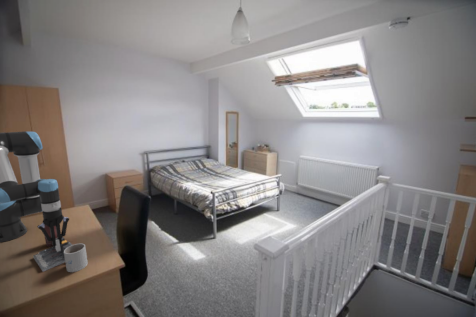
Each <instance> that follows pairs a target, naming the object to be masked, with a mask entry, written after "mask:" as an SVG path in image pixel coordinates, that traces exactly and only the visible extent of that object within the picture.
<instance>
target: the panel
mask: <svg viewBox="0 0 476 317" xmlns="http://www.w3.org/2000/svg"><path fill="white" fill-rule="evenodd" d="M68 242H69V244H70V245H73V244H72V242H70V241H68ZM32 257H33V259H34V261H35V262H36V264H37V266H38V267H39V269H40V270H41V272H42V273H44V272H45V271H46V272H47V271H48V270H51V269H53V268H55V267H56V266H60V265H62V264H64V263H65V257H64V253H63V252H62V251H59V252H57V251H56V247H55V246H52V247H48V248H46V249H44V250H41V251H39V252H38V253H36V254H34V255H33V256H32Z"/></svg>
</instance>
